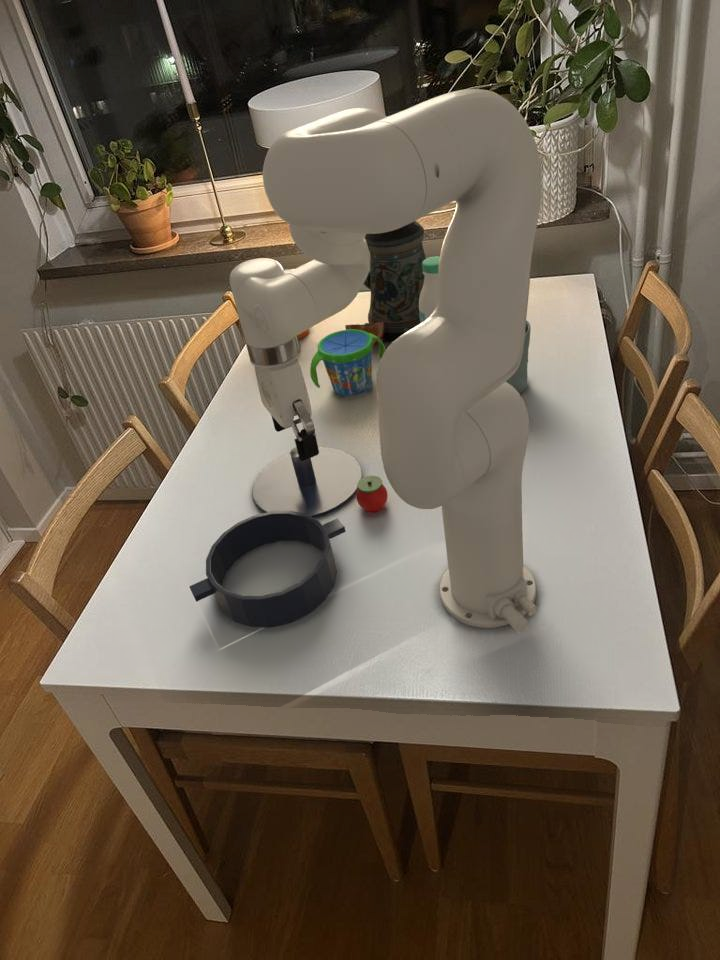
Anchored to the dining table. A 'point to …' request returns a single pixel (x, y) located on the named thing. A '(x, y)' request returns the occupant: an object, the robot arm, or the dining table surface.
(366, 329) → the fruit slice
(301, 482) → the lid
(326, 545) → the pot
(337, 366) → the snack cup
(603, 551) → the dining table surface
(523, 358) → the grey-green cup
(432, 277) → the milk bottle
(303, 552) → the dining table surface
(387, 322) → the beer stein
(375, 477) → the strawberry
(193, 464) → the dining table surface
